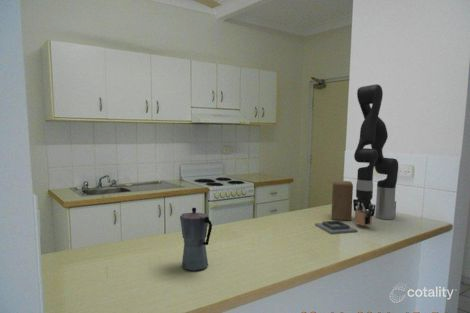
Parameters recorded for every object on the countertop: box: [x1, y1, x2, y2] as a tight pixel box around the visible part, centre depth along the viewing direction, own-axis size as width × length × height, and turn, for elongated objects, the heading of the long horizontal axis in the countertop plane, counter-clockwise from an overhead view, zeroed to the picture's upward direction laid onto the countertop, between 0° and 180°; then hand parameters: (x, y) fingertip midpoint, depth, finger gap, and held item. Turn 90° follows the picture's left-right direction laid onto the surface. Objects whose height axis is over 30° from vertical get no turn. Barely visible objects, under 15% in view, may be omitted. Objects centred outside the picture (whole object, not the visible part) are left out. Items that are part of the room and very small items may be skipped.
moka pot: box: [179, 207, 213, 271], centre depth 106 cm, size 10×15×20 cm, turn 51°
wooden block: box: [331, 180, 354, 222], centre depth 170 cm, size 10×10×20 cm
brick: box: [354, 210, 373, 226], centre depth 155 cm, size 6×6×6 cm
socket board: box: [314, 220, 358, 235], centre depth 152 cm, size 14×14×2 cm
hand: (363, 222), depth 156 cm, fingers closed on brick, 5 cm apart
